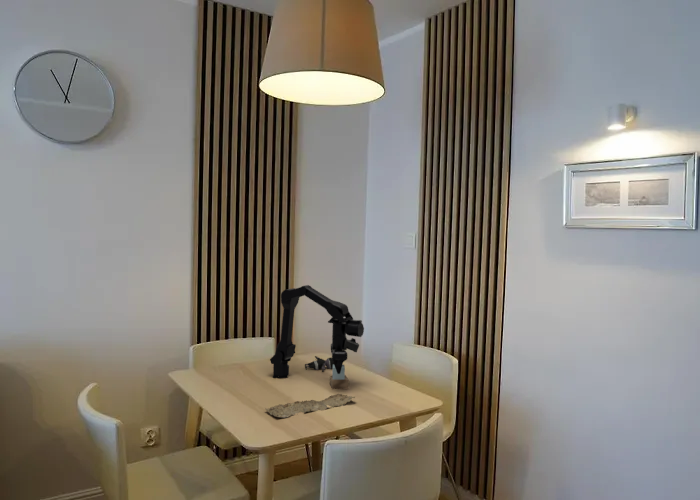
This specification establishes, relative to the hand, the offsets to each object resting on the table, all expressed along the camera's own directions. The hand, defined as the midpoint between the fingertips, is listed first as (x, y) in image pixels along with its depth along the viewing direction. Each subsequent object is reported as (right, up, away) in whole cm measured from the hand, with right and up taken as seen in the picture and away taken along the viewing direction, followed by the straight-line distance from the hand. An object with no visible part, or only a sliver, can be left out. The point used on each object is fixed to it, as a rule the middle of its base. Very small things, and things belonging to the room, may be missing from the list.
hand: (338, 370), depth 221 cm
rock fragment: (-9, -8, -26) cm, 29 cm away
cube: (0, -3, +1) cm, 3 cm away
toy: (-9, -6, +27) cm, 29 cm away
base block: (0, -7, +1) cm, 7 cm away
